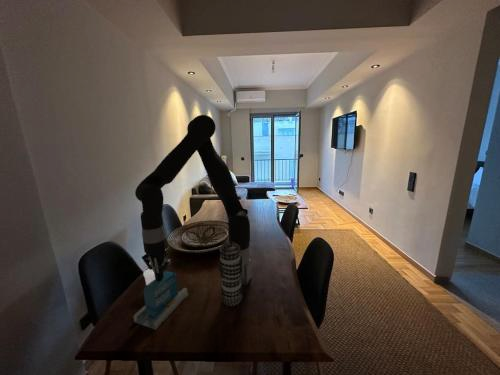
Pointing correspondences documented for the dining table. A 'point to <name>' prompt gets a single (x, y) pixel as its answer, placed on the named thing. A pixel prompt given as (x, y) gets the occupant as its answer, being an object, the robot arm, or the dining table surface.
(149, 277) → the beverage cup
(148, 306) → the data package
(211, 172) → the robot arm
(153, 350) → the dining table surface
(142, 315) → the grey tray
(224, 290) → the leaning tower model
